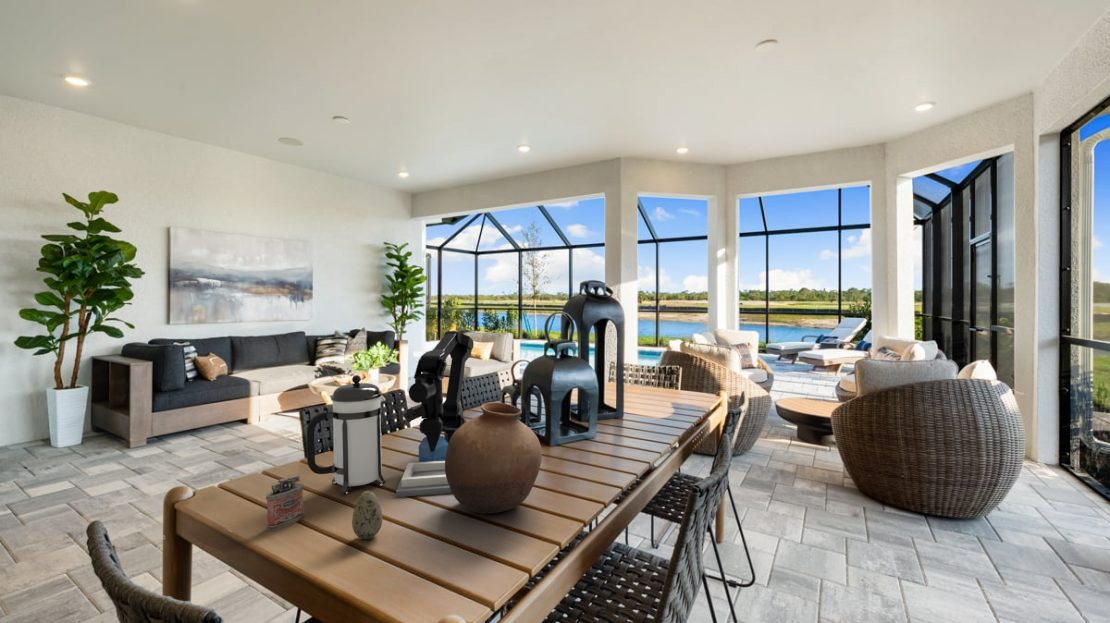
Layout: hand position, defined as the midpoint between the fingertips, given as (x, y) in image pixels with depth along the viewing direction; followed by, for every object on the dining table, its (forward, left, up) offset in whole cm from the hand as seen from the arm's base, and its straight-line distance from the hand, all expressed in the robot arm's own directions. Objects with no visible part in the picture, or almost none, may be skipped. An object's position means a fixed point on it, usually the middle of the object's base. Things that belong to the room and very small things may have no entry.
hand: (433, 446), depth 147 cm
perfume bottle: (0, 0, -6) cm, 6 cm away
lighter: (+33, -30, -6) cm, 45 cm away
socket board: (+14, 0, -6) cm, 15 cm away
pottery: (+34, +17, -6) cm, 38 cm away
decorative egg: (+44, -10, -6) cm, 46 cm away
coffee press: (+13, -20, -6) cm, 25 cm away
